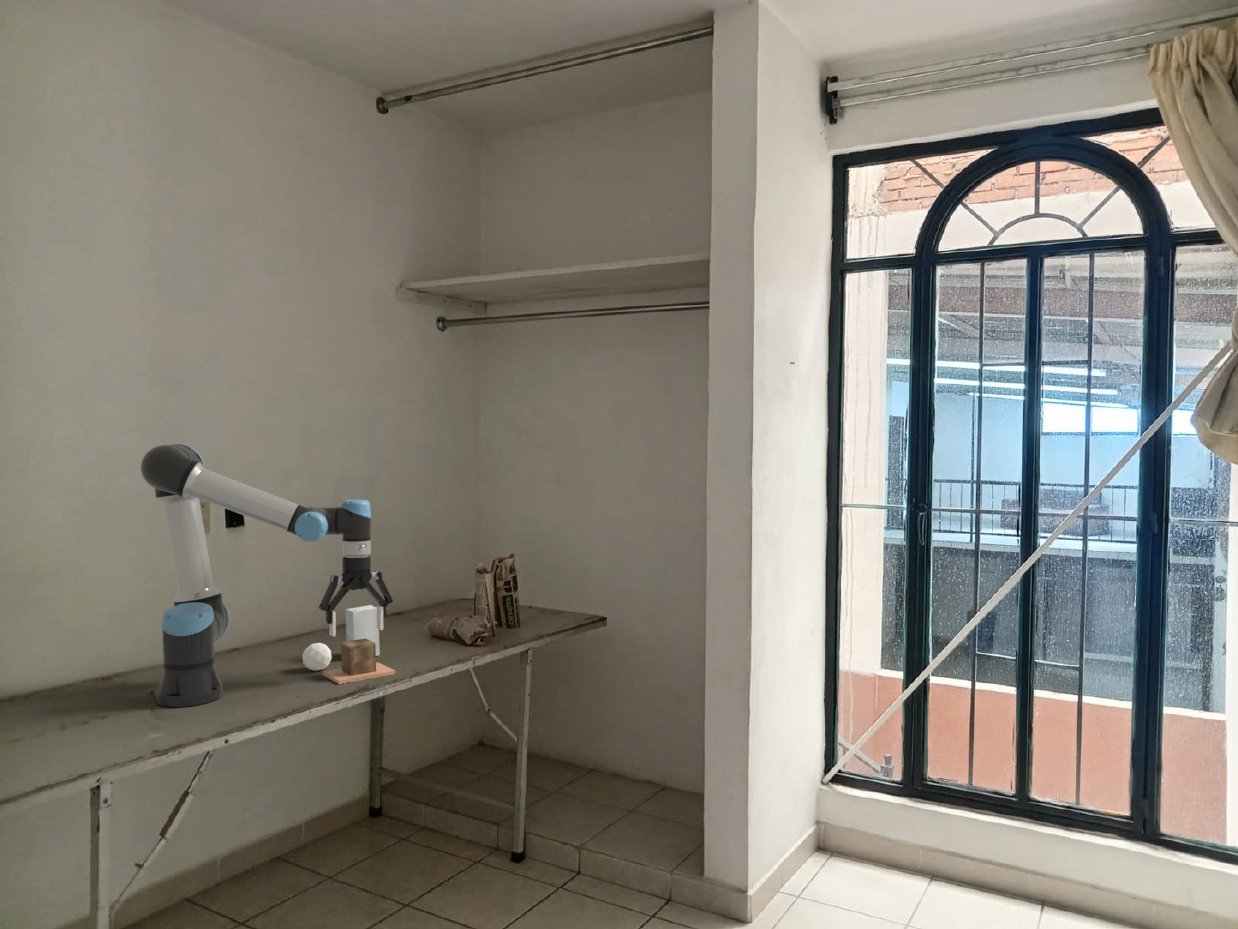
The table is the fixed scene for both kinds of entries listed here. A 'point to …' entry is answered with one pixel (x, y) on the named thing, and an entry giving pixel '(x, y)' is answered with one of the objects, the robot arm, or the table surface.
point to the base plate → (343, 677)
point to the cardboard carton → (358, 656)
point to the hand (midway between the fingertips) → (356, 632)
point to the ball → (316, 656)
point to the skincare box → (362, 624)
